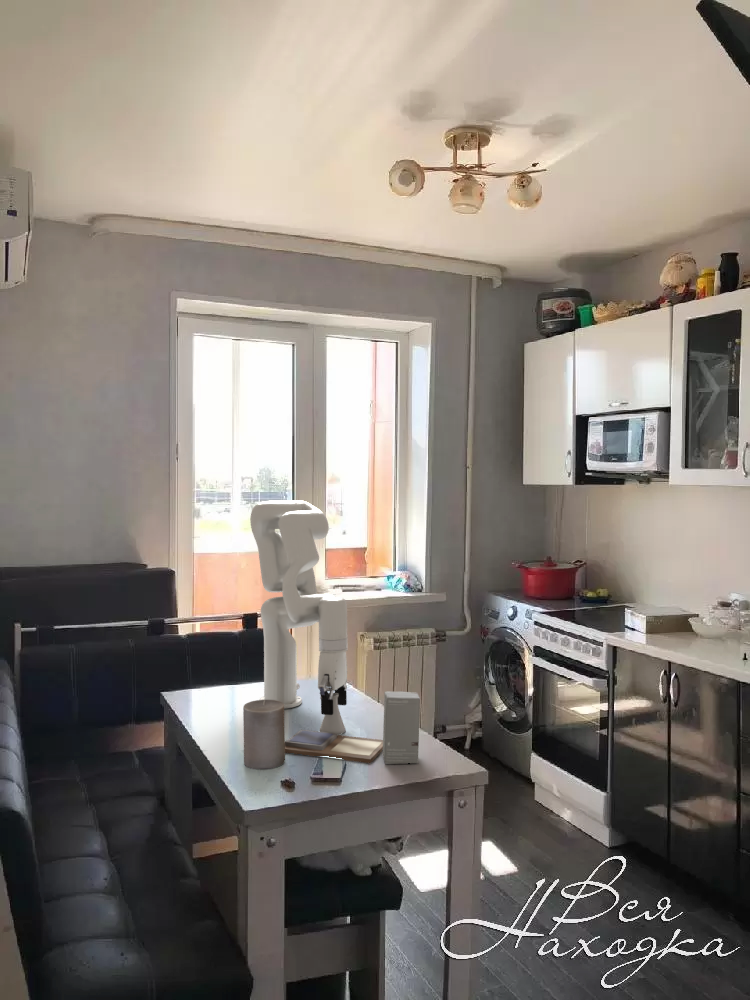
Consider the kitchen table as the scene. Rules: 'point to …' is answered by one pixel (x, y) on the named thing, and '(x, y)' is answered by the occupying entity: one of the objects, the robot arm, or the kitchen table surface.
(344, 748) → the board
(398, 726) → the skincare box
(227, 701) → the kitchen table surface
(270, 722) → the pillar candle
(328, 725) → the flask
